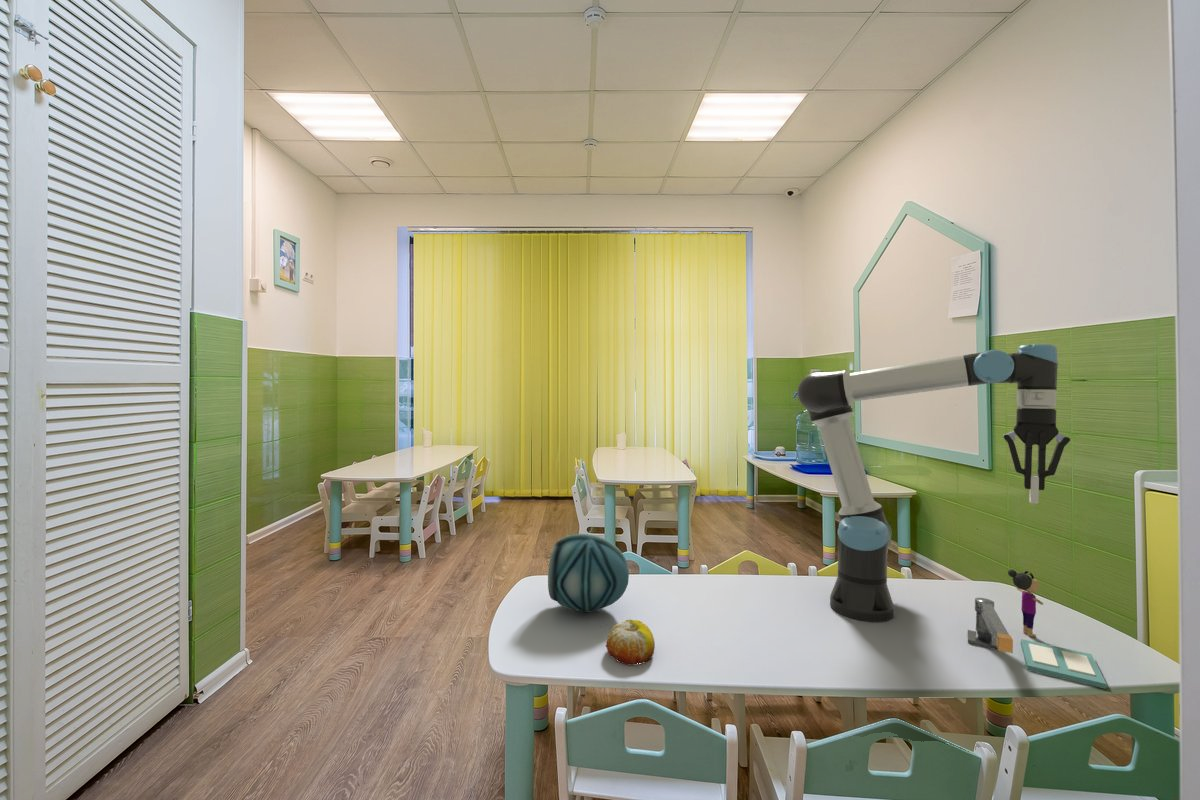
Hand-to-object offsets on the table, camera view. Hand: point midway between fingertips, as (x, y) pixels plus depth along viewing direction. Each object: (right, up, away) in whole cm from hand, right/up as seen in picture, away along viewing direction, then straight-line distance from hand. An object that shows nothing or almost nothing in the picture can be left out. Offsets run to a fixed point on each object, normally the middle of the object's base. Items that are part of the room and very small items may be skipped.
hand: (1033, 502), depth 129 cm
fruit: (-101, -31, -15) cm, 106 cm away
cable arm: (-23, -24, -17) cm, 37 cm away
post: (-19, -31, -8) cm, 37 cm away
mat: (-10, -31, -18) cm, 37 cm away
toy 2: (-6, -31, -5) cm, 32 cm away
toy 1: (-110, -30, +7) cm, 114 cm away
